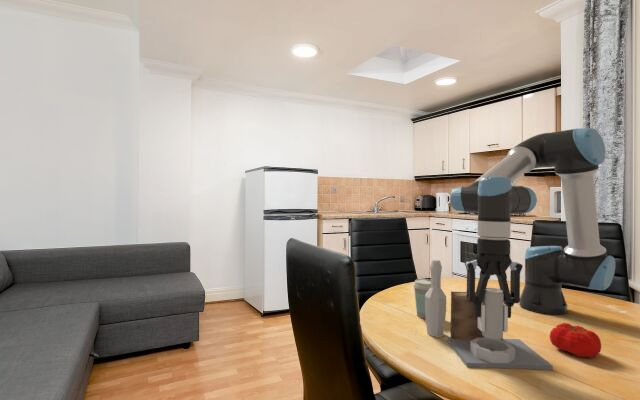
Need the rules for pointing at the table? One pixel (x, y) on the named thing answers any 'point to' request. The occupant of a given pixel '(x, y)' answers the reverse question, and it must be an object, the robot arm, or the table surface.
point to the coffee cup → (421, 295)
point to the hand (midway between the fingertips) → (492, 329)
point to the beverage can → (493, 314)
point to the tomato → (575, 340)
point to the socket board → (498, 354)
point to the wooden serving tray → (463, 318)
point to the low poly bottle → (435, 302)
